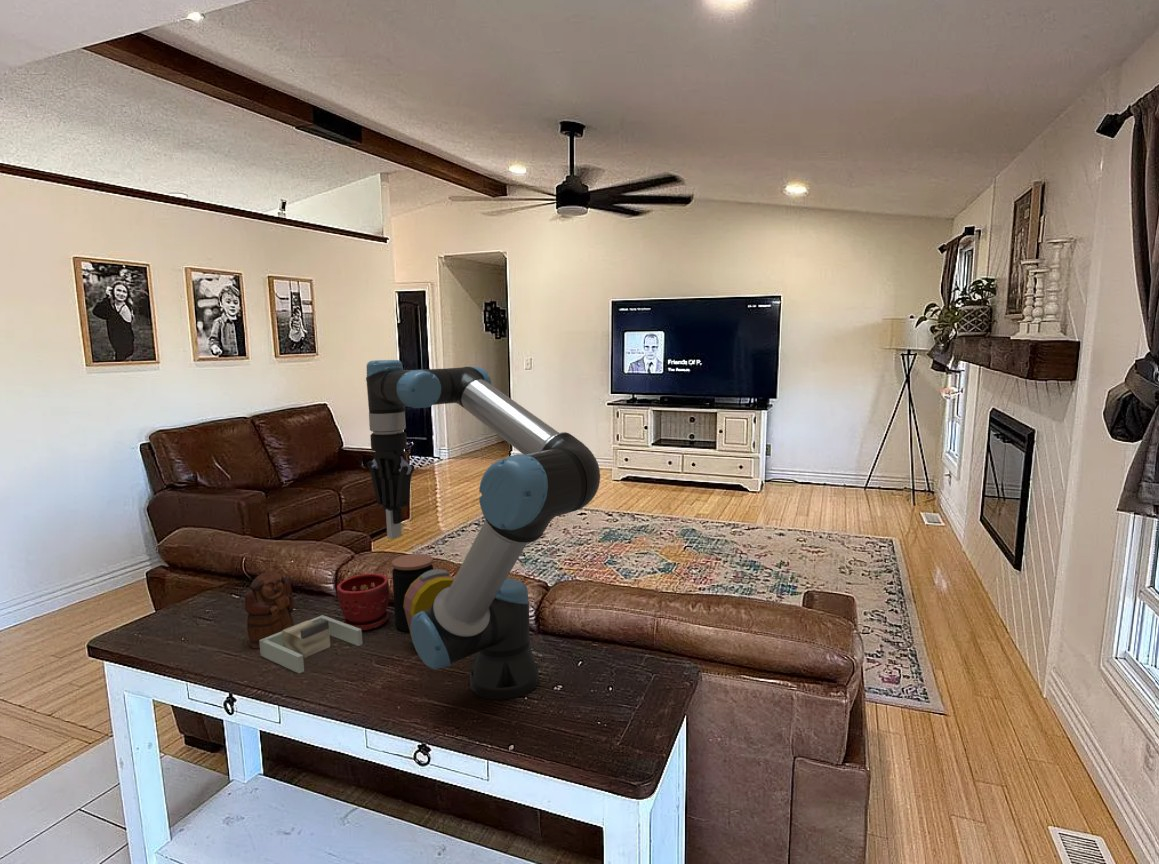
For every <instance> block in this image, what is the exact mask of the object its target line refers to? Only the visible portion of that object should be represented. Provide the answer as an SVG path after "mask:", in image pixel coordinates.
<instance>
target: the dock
mask: <svg viewBox="0 0 1159 864" xmlns="http://www.w3.org/2000/svg"><path fill="white" fill-rule="evenodd" d="M324 620H328V622H329V635H330V636H331V637H333V638H336V639H338V640H342V641H344V642H347V643H348V644H349V643H350V644H352V645H354V646H357V647H360V646H362V645H363V632H362V631H363V630H362V629H359V628H357V627H354V626H351V625H348V624H346V623H344V621H341V620H338V619H334V618H331V617H329V616H326V615H323V614H321V615H319V616H317V617H314V618H312V619H309V620H308V621H311V622H314V623H316V624H317V623H319V622H322V621H324ZM259 642H260V648H259V650H260V651H259V652H260V657H263V658H265V659H267V660H269V661H271V662H273V663H276V664H278V665H280V666H283V667H284V668H286V669H288V670H290V671H293V672H295V673H297V674H299V675H300V674H302V673H304V672H305V667H304V666H305V662H304V657H303V655H301V654H299V653H297V652H294V651H292V650H290V649H287V648H285V647H284V645H283V633H282V631H281V632H279V633H276V634H274V635H271V636H269V637H266V638H264V639H261V640H259Z"/></svg>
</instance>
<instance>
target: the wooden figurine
mask: <svg viewBox="0 0 1159 864" xmlns="http://www.w3.org/2000/svg"><path fill="white" fill-rule="evenodd" d="M249 588H250V589H249V590H247V591H246V593H245V595H244V610H245V612H246V613H247V614H248V615H247V619H246V627H247V635H248V639H249V642H250V643H249V644H250V647H251V648H252V649H260V642H259V640H261V639H264V638H266V637H269V636H271V635H274V634H276V633H279V632H281V631H282V630H284V629H287V628H289V627H292V626H294V625H295V623H294V619H293V616H292V613H293V612H294V608H295V601H294V596H293V590H292V585H291V581H290V579H289V578H287V577H284V576H283V575H282V574H280V573H278V572H275V571H267V572H263V573H261V574H259V575H258V576H256V577H255V578H254V579H253V580H252V581H251V583H250V585H249Z"/></svg>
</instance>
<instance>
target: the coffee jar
mask: <svg viewBox="0 0 1159 864" xmlns="http://www.w3.org/2000/svg"><path fill="white" fill-rule="evenodd" d="M433 562H434V558H433V557H432V555H428V554H425V553H411V554H405V555H401V556H397V557H396V558H395V559H393V560H392V561H391V566H392V568H393V569H392V571H391V572H392V575H391V576H392V587H393V588H392V589H393V590H392V591H393V606H394V620H395V621H394V622H395V626H396V627H397V628H398V629H399V630H400V631H401V630H402V632H404V631H405V632H406V633H410V630H409V626H408V622H407V618H406V614H405V610H404V607H403V606H404V599H405V594H406V592H407V590H408V589H409V587H410V585H411V584H412V583H413V582H414V581H415V580H416V579H417V578H418V577H419V576H421V575H422V574H423V573H425V572H427V571H430V570H434V566H433Z"/></svg>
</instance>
